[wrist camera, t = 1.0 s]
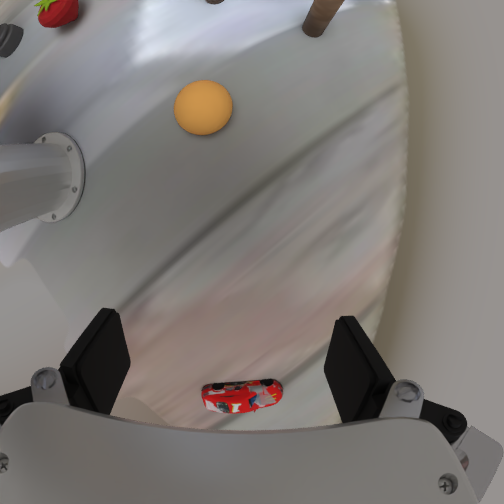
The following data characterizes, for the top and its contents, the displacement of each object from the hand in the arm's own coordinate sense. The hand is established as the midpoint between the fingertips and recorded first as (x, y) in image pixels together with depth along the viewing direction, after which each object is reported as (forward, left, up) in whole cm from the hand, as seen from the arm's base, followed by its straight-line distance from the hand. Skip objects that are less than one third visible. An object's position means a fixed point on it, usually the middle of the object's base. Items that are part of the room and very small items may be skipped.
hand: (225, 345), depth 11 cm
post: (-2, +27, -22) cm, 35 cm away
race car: (+11, -25, -23) cm, 36 cm away
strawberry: (-36, +21, -22) cm, 47 cm away
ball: (-9, +11, -19) cm, 23 cm away
